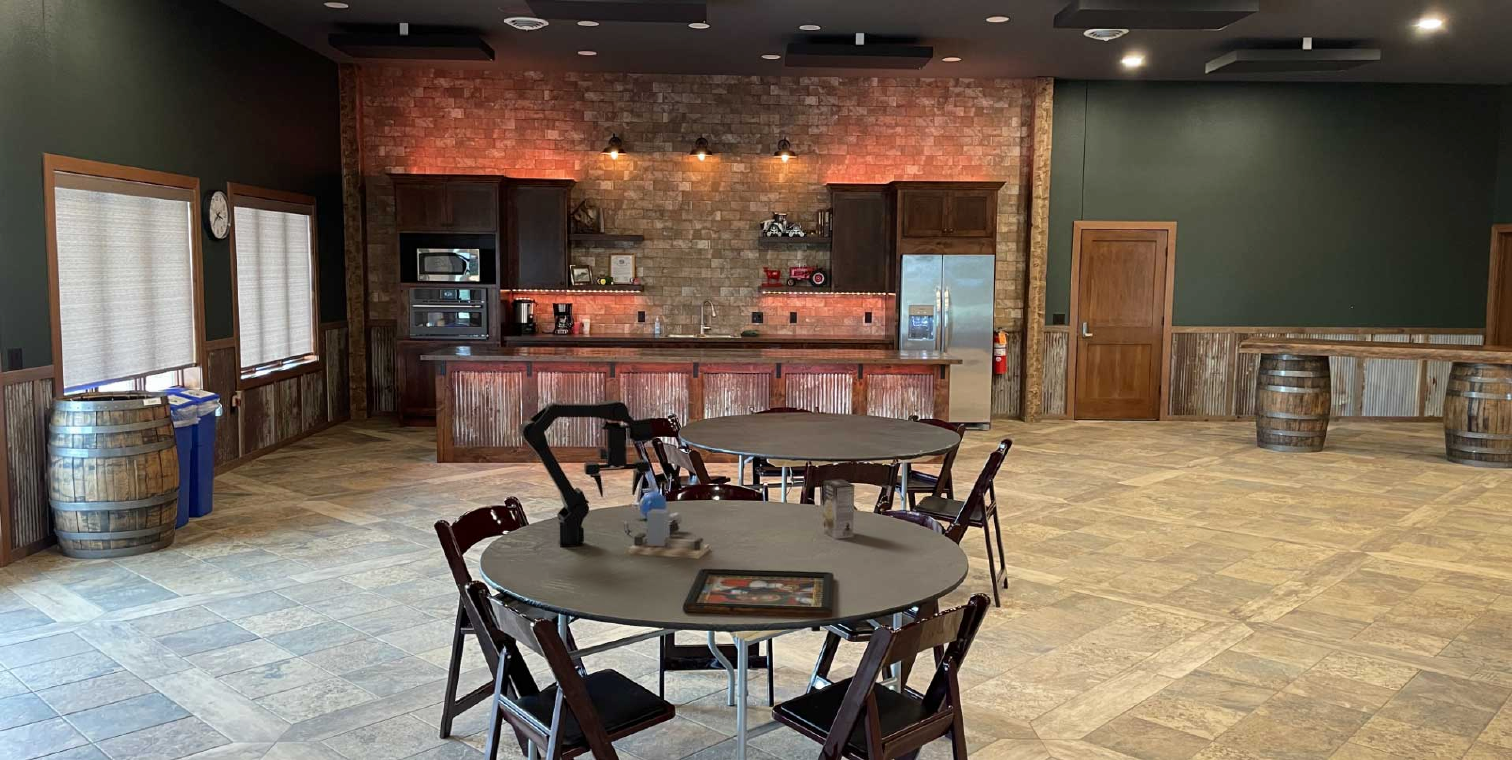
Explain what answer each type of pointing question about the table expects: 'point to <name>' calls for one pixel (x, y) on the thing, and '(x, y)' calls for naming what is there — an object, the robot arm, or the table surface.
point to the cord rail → (670, 547)
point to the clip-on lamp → (674, 522)
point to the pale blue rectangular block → (658, 527)
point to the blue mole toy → (650, 503)
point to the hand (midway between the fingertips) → (617, 495)
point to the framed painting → (762, 592)
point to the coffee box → (838, 508)
